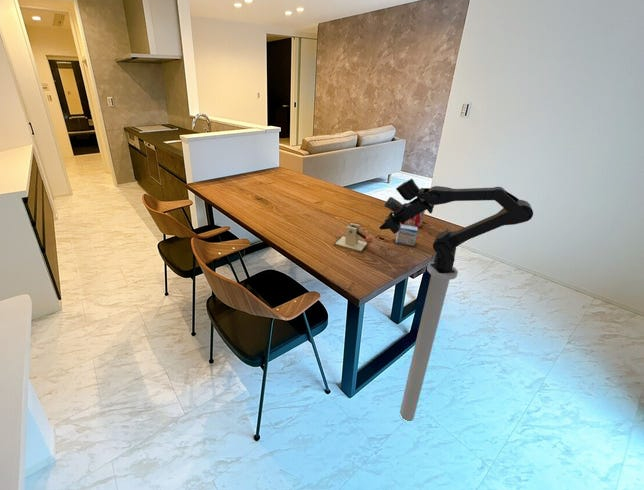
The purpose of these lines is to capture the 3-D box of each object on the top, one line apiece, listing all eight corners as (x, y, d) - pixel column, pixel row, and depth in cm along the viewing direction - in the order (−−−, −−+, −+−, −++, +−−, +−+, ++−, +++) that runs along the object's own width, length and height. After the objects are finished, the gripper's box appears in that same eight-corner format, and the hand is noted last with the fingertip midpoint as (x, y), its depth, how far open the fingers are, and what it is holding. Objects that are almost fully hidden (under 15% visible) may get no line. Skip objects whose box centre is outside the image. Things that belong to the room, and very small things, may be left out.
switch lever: (371, 243, 132) (374, 237, 130) (368, 245, 129) (372, 240, 127) (349, 229, 135) (353, 223, 133) (347, 231, 133) (350, 226, 131)
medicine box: (395, 244, 136) (398, 227, 132) (395, 239, 140) (399, 223, 136) (414, 247, 133) (418, 230, 130) (414, 242, 137) (417, 226, 133)
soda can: (420, 224, 156) (425, 203, 151) (421, 230, 150) (426, 208, 145) (405, 222, 158) (410, 201, 153) (406, 228, 152) (411, 207, 147)
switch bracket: (367, 244, 136) (369, 225, 132) (361, 253, 129) (363, 232, 125) (342, 238, 142) (344, 219, 138) (335, 245, 135) (336, 226, 132)
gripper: (404, 186, 124) (374, 206, 133) (393, 199, 109) (361, 220, 119) (421, 208, 123) (390, 226, 132) (413, 223, 108) (378, 242, 118)
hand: (380, 228), depth 125 cm, fingers closed
